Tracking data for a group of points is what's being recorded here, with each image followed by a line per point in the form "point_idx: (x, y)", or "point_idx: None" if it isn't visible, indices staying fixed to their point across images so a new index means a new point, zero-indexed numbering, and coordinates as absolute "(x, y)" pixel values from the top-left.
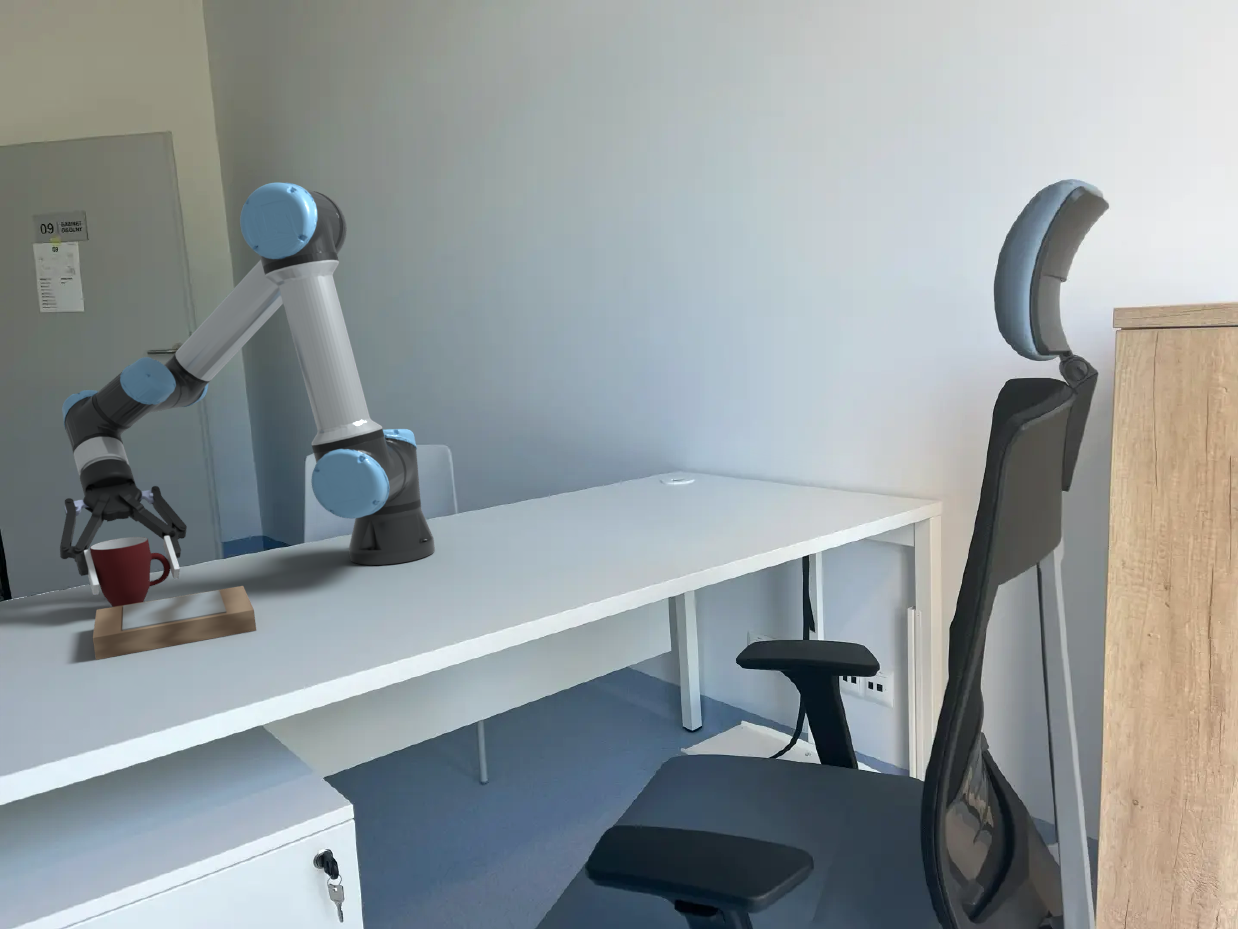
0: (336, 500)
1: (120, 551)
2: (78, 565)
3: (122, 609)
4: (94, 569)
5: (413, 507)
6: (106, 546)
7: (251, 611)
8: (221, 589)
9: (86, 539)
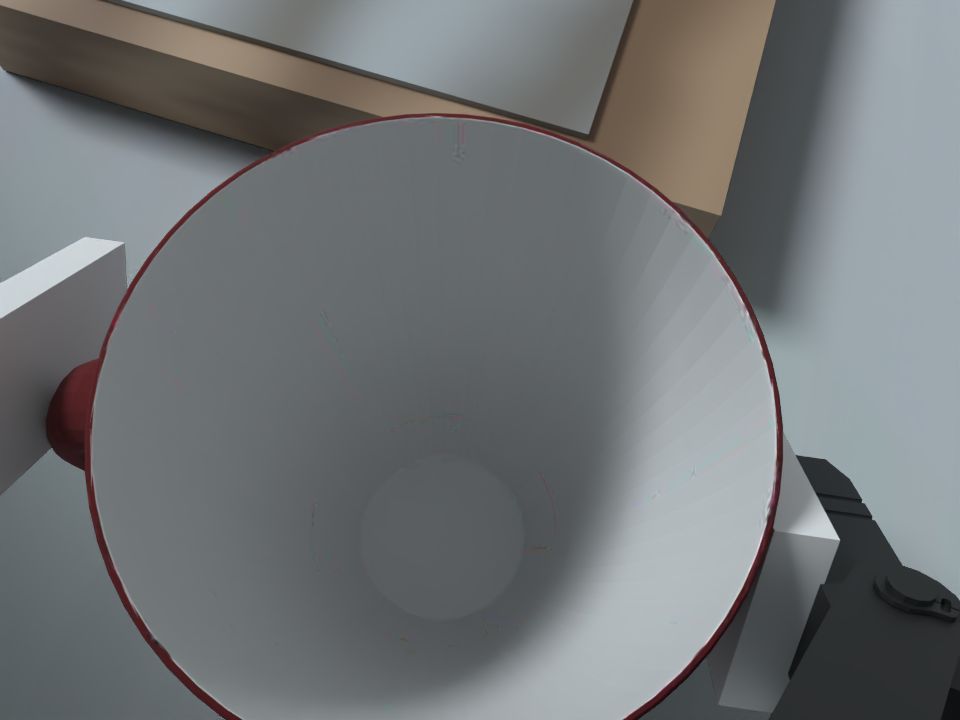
0: None
1: (524, 149)
2: (859, 501)
3: (606, 96)
4: None
5: None
6: None
7: None
8: (60, 16)
9: (826, 671)
